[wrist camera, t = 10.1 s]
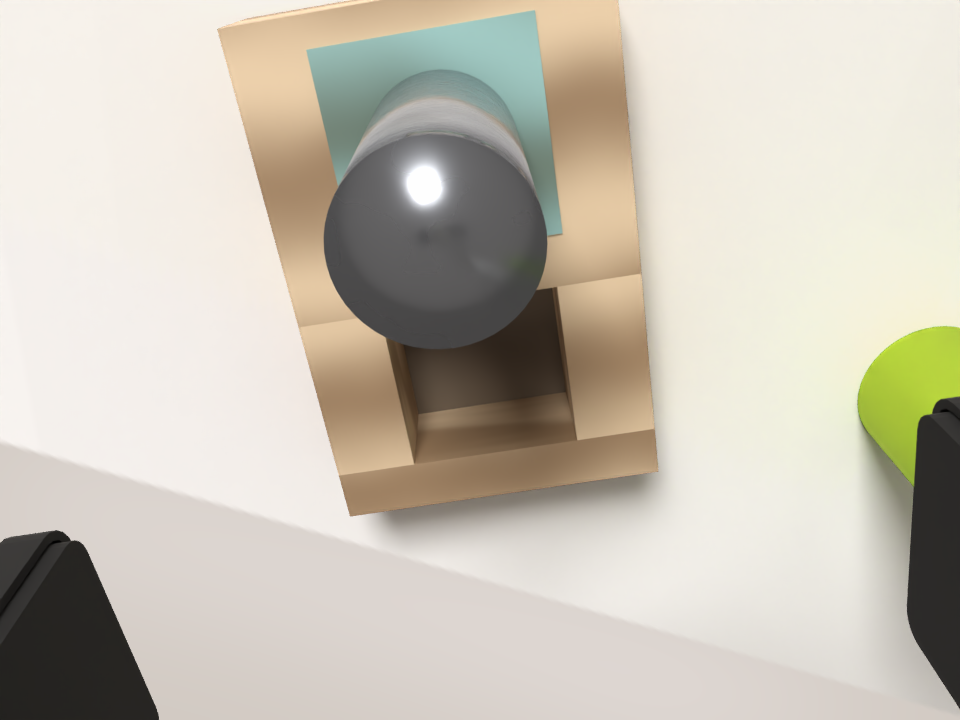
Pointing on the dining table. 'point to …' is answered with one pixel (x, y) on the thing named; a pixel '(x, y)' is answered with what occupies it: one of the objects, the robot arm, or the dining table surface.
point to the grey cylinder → (437, 216)
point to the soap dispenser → (909, 390)
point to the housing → (568, 269)
